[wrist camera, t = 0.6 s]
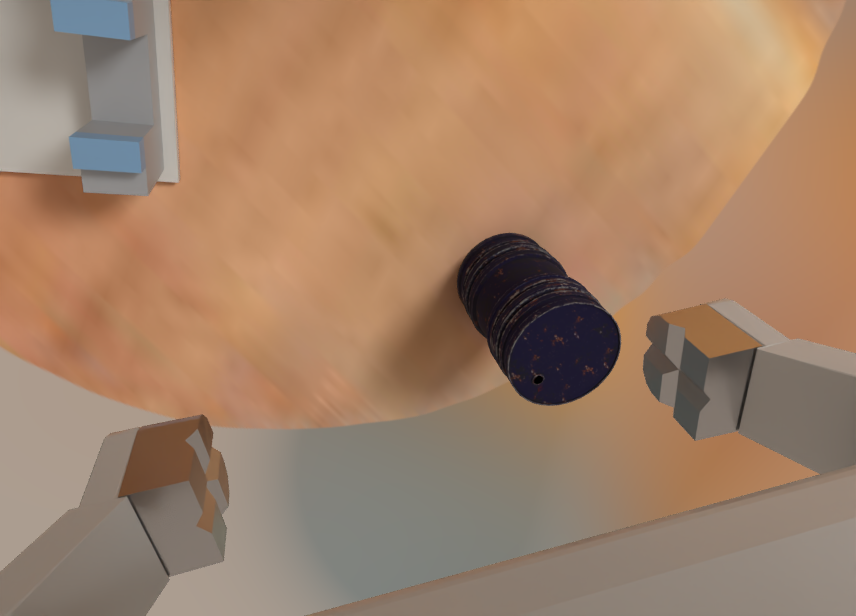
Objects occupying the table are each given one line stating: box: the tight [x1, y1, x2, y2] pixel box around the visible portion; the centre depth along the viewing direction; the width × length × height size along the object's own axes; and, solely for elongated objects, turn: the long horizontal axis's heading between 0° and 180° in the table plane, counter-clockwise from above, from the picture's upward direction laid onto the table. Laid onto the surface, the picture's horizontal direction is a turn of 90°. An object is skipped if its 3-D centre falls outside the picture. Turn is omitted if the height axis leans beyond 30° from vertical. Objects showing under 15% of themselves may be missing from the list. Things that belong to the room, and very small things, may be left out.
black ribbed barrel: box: [457, 233, 621, 406], centre depth 53 cm, size 10×10×15 cm
